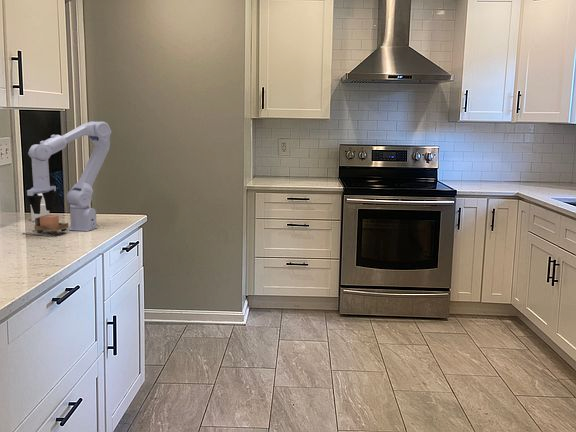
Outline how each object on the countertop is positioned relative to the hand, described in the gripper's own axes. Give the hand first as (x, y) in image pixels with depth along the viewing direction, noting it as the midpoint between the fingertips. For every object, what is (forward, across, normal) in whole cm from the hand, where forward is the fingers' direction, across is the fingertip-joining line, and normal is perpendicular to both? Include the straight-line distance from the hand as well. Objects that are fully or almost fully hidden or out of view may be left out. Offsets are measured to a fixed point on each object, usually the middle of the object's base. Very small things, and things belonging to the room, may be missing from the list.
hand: (43, 212), depth 218 cm
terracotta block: (+4, 0, 0) cm, 4 cm away
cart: (+8, 0, +3) cm, 9 cm away
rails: (+8, 0, -1) cm, 9 cm away
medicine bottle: (+9, -26, -20) cm, 35 cm away
